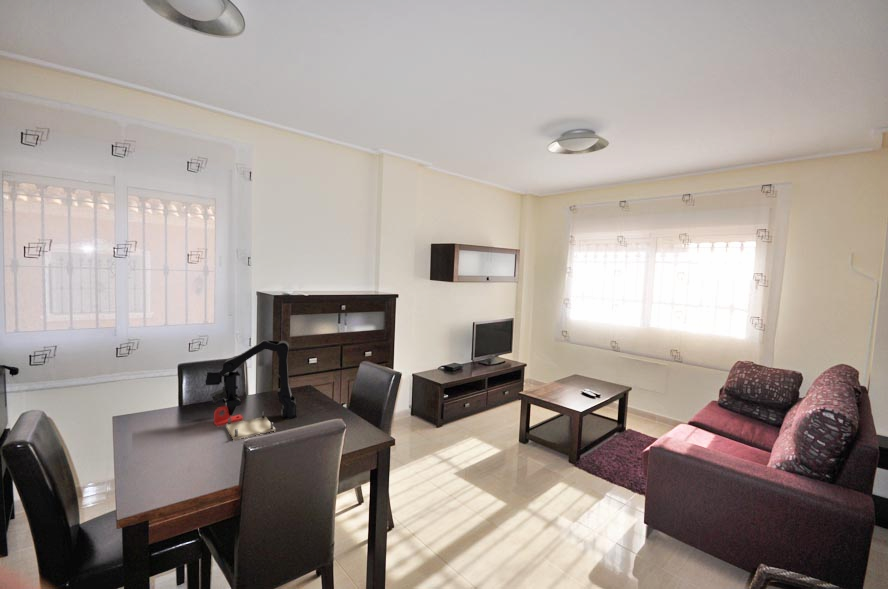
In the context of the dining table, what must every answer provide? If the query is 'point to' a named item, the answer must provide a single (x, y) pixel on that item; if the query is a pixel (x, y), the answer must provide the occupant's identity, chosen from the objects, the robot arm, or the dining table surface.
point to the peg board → (249, 427)
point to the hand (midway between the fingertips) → (230, 414)
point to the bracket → (224, 416)
